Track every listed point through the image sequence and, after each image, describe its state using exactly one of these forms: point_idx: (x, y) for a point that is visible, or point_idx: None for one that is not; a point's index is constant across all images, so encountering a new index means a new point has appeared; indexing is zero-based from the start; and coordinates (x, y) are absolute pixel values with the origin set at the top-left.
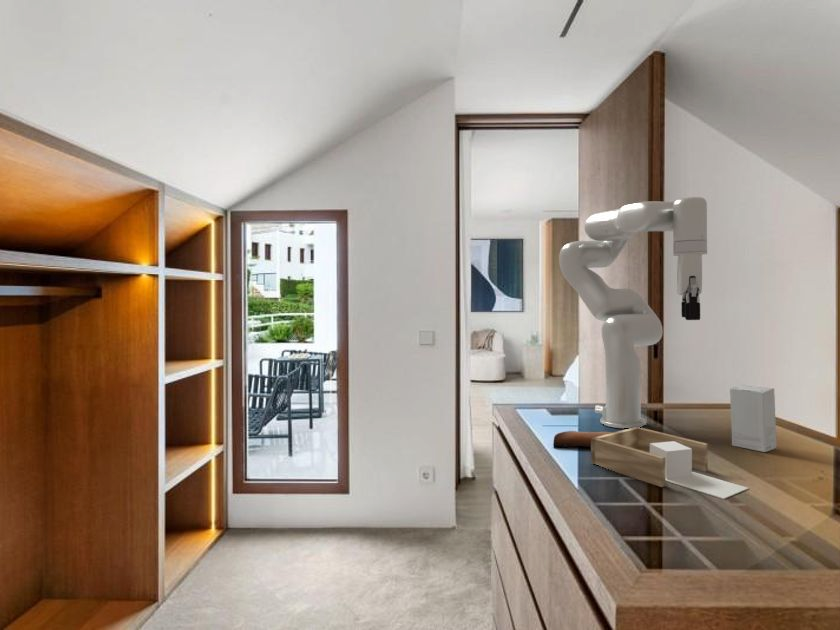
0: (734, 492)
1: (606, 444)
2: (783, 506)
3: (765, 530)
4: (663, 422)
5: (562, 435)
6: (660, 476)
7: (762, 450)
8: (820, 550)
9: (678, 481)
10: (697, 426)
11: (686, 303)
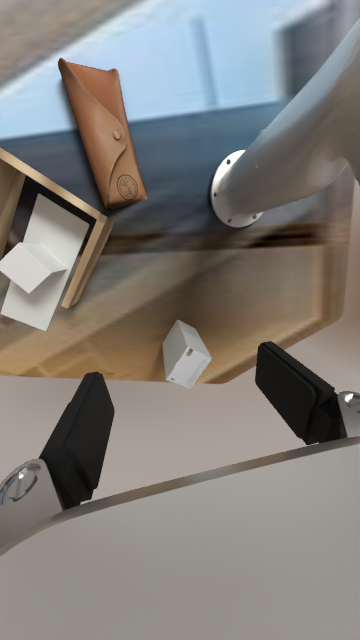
0: (24, 321)
1: None
2: (19, 351)
3: None
4: (254, 248)
5: (67, 77)
6: None
7: (163, 342)
8: None
9: None
10: (243, 287)
11: (47, 455)
